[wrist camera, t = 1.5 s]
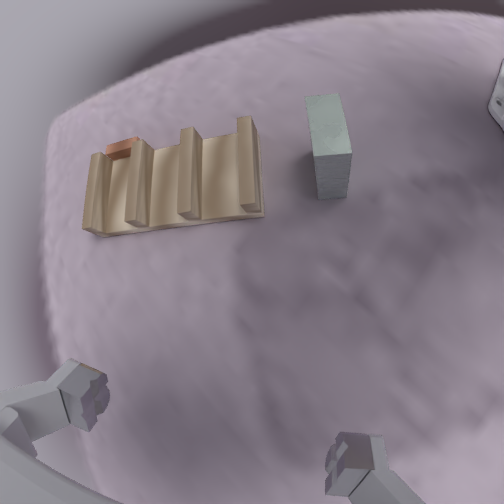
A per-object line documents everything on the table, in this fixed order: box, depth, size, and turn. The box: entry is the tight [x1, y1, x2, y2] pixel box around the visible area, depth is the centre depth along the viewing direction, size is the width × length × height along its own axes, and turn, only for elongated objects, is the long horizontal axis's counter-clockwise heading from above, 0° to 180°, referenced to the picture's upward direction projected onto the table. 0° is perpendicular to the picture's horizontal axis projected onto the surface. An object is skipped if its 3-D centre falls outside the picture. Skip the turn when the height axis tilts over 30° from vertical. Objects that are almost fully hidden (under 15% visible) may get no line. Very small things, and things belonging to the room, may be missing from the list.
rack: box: [82, 116, 264, 237], centre depth 35 cm, size 21×11×4 cm, turn 93°
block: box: [305, 94, 352, 200], centre depth 29 cm, size 3×6×10 cm, turn 3°
